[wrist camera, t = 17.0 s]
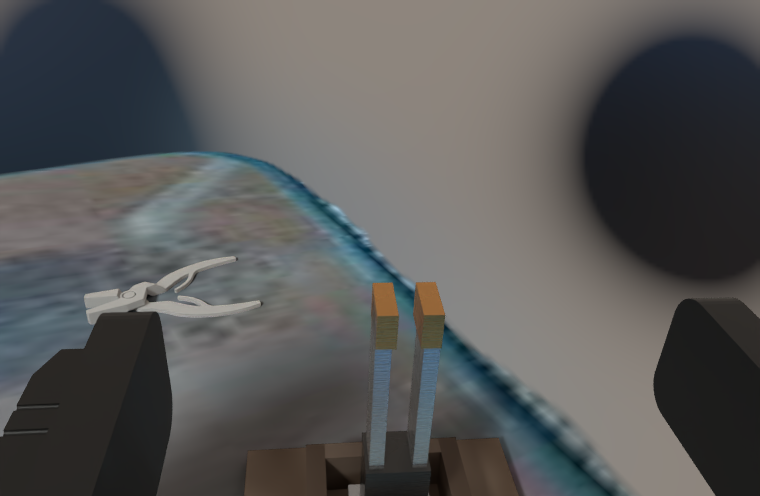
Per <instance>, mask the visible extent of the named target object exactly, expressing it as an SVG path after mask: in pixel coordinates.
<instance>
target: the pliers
mask: <svg viewBox="0 0 760 496" xmlns="http://www.w3.org/2000/svg"><path fill="white" fill-rule="evenodd" d="M235 261H236V258H235V256H232V257H224V258H217V259H212V260H207V261H203V262H199V263H196V264H193V265H190V266H187V267H184V268H182V269H179V270H177V271H175V272H172V273H171V274H169V275H167V276H165V277H164V278H162V279H161V280H160V281H159V282H157V283H156V284H153V283H148V282H143V283H140V284H137V285H134V286H133V287H132V288H131V289H130V290H128V291H125V292H123V293H122V292H121V291H120V290H119V289H114V290H108V291H102V292H97V293H91V294H85V296H84V301H85V305H86V308H92V309H89V310H86V313H87V318H88V322H89V323H90V324H91V325H93V324H95V323H96V321H97V319H98V317H99V316H100V314H102V313H110V312H128V311H130V310H135V311H138V312H149V311H156V312H161V313H167V314H171V315H175V316H181V317H216V316H224V315H231V314H236V313H241V312H244V311H248V310H251V309H254V308H257V307H260V306H261V303H260V301H253V302H246V303H239V304H232V305H219V306H211V305H208V304H206V303H205V302H203V301H202V300H199V299H196V298H193V297H187V296H178V300H180V301H188V302H193V303H195V304H197V305H199V306H191V305H186V304H181V303H176V302H172V301H164V302H149V301H148V300H147V299H146V297H147V295H150V296H156V295H159V294H161V293H164V292H166V291H168V290H169V289H170V288H171V287H173V286H174V285H175V284H177V283H178V282H179V281H181V280H182V279H184V278H186V277H188V279H187V280H186V282H185V283H183V284H182V285H181V286H179V287H177V288H176V289H175V292H176V293H178V292H180V291H181V290H183V289H184V288H186V287H187V286H188V285H189V284H190V283H191V282H192V280H193V277H194V276H195V274H196V273H198V272H201V271H204V270H207V269H210V268H213V267H216V266H220V265H224V264H227V263H231V262H235Z"/></svg>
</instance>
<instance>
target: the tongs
mask: <svg viewBox="0 0 760 496" xmlns="http://www.w3.org/2000/svg"><path fill="white" fill-rule="evenodd" d="M413 316H414V320H415V325H416V340H415V351H414V362H413V374H412V385H411V396H410V407H409V418H408V429H407V431H398V432H386V426H387V411H388V396H389V381H390V366H391V351H392V349H396V347H397V334H398V320H399V314H398V309H397V304H396V299H395V294H394V288H393V283H373V287H372V308H371V339H370V361H369V382H368V404H367V426H366V433H362V450H361V474H360V484H354V485H348V496H429V485H430V477H431V468H430V463H429V458H428V452H429V443H430V434H431V425H432V417H433V408H434V399H435V391H436V382H437V373H438V364H439V356H440V348H441V347H442V338H443V330H444V321H445V313H444V309H443V306H442V302H441V299H440V296H439V292H438V289H437V286H436V283H435V282H417V283H416V288H415V300H414V312H413Z"/></svg>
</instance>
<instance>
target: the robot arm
mask: <svg viewBox="0 0 760 496" xmlns="http://www.w3.org/2000/svg"><path fill="white" fill-rule="evenodd" d="M654 395H655V400H656V403H657V406H658V408H659V410H660V412H661V414H662V416H663V417H664V418H665V420H666V422H667V423H668V425H669V426H670V428H671V429H672V431H673V432H674V434H675V435H676V437H677V438H678V440H679V441H680V443H681V444H682V446H683V447H684V448H685V450H686V452H687V453H688V454H689V456H690V458H691V459H692V461H693V462H694V464H695V465H696V467H697V468H698V470H699V471H700V473H701V474H702V476H703V477H704V479H705V480H706V482H707V483H708V485H709V486H710V488H711V489H712V491H713V492H714V494H715V495H716V496H760V319H759V318H758V317H757V316H756V315H755V314H754V313H753V312H752V311H751V310H750V309H749V308H748V307H747V306H746V305H745V304H744V303H743V302H741V301H740V300H738V299H736V298H698V299H697V298H696V299H685V300H683V301H682V302H681V303H680V304H679V305H678V307H677V309H676V311H675V313H674V317H673V319H672V322H671V325H670V329H669V331H668V335H667V338H666V341H665V344H664V347H663V350H662V353H661V356H660V359H659V362H658V365H657V368H656V371H655V374H654ZM171 424H172V391H171V384H170V378H169V371H168V365H167V358H166V352H165V345H164V339H163V332H162V326H161V321H160V317H159V314H158V313H157V312H156V311H149V312H110V313H102V314H100V316H99V317H98V319H97V321H96V323H95V326H94V328H93V330H92V332H91V335H90V337H89V339H88V341H87V344H86V346H85V348H84V349H61V350H60V351H59V352H58V353H57V354H56V355H54V356H53V357H52V358H51V359H50V360H49V361H48V362H47V363H45V364H44V365H43V366H42V367H41V368H40V369H39V370H38V371H36V372H35V373H34V374H33V375H32V377H31V379H30V381H29V382H28V384H27V386H26V388H25V390H24V392H23V394H22V396H21V398H20V400H19V402H18V403H17V410H16V411H13V413H12V415H11V417H10V419H9V421H8V423H7V424H6V426H5V428H4V435H3V437H0V496H156V494H157V489H158V485H159V481H160V476H161V472H162V467H163V463H164V459H165V454H166V450H167V445H168V441H169V437H170V431H171Z"/></svg>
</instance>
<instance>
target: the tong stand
mask: <svg viewBox="0 0 760 496" xmlns="http://www.w3.org/2000/svg"><path fill="white" fill-rule="evenodd" d="M361 450H362V442H352V443H332V444H312V445H306V448H289V449H269V450H250V451H248V455H247V467H246V478H245V490H244V496H348V485H354V484H360V474H361ZM428 458H429V463H430V468H431V477H430V485H429V496H519V495H518V492H517V489H516V487H515V484H514V481H513V478H512V475H511V472H510V469H509V467H508V464H507V461H506V458H505V455H504V452H503V449H502V447H501V444H500V441H499V438H486V439H466V440H456V437H451V438H432V439H430V443H429V452H428Z"/></svg>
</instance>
